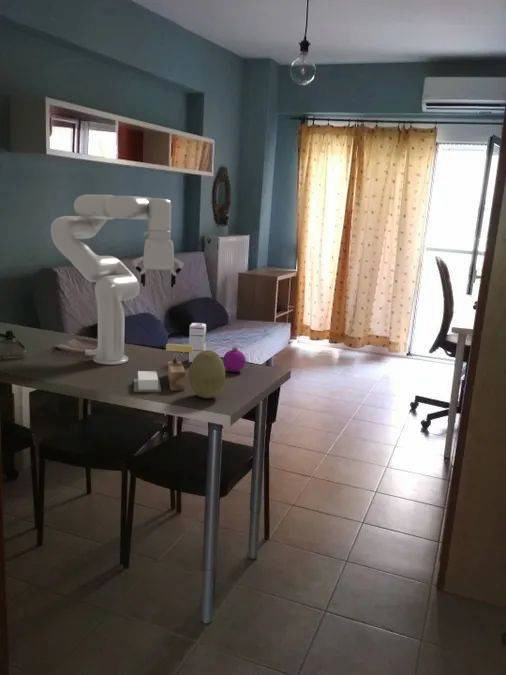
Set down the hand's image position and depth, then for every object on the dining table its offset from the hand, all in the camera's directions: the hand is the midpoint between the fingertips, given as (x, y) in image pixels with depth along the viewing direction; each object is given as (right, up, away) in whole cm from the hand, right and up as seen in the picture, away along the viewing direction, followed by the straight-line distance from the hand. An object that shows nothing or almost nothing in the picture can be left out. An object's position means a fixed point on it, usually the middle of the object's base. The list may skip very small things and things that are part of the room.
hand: (158, 286), depth 203 cm
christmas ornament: (+26, -30, +12) cm, 41 cm away
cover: (-1, -33, -12) cm, 35 cm away
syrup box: (+11, -27, +23) cm, 37 cm away
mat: (-2, -33, -12) cm, 35 cm away
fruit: (+18, -36, -19) cm, 45 cm away
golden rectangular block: (+7, -26, -1) cm, 27 cm away
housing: (+7, -33, -6) cm, 34 cm away
